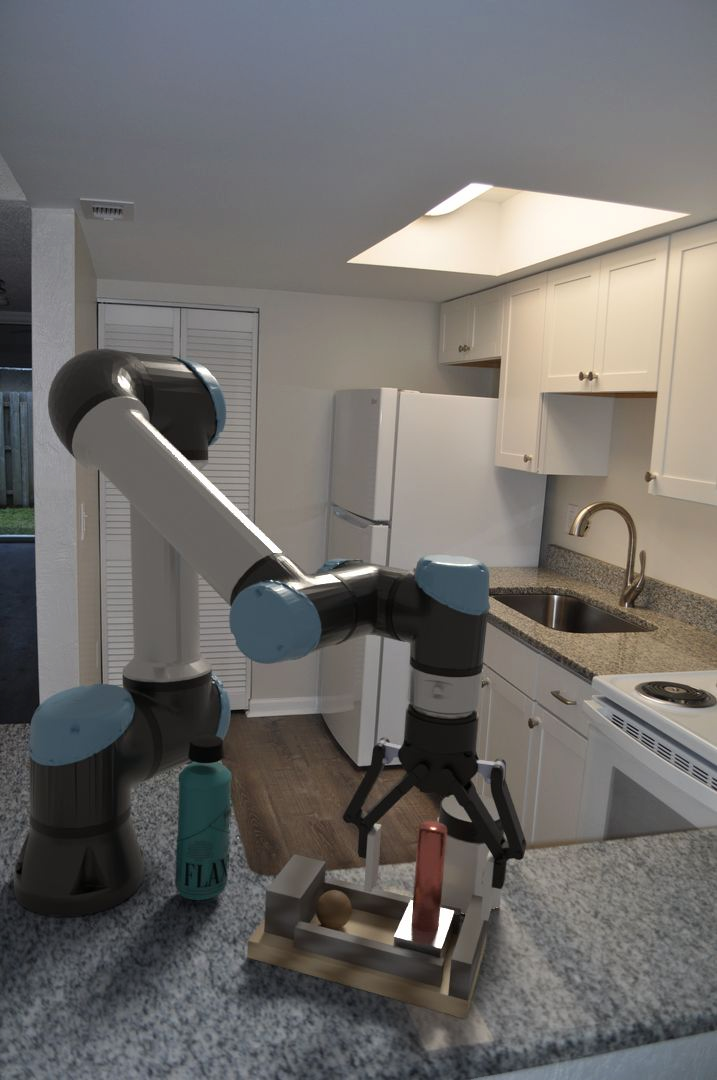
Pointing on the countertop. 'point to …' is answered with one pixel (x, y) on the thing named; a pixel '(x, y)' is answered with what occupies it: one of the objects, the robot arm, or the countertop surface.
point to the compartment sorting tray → (366, 941)
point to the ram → (427, 897)
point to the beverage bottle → (203, 821)
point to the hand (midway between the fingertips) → (427, 898)
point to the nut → (333, 909)
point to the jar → (465, 854)
